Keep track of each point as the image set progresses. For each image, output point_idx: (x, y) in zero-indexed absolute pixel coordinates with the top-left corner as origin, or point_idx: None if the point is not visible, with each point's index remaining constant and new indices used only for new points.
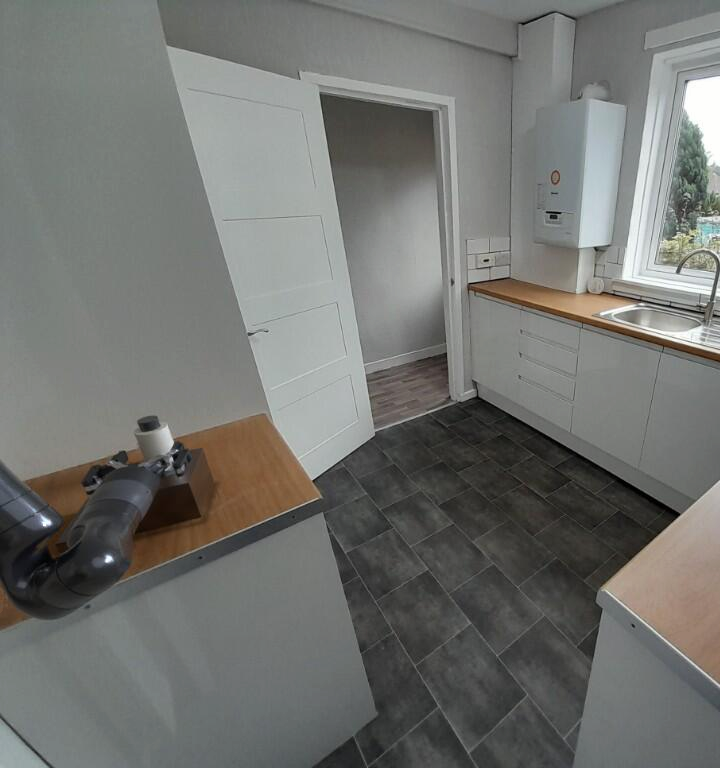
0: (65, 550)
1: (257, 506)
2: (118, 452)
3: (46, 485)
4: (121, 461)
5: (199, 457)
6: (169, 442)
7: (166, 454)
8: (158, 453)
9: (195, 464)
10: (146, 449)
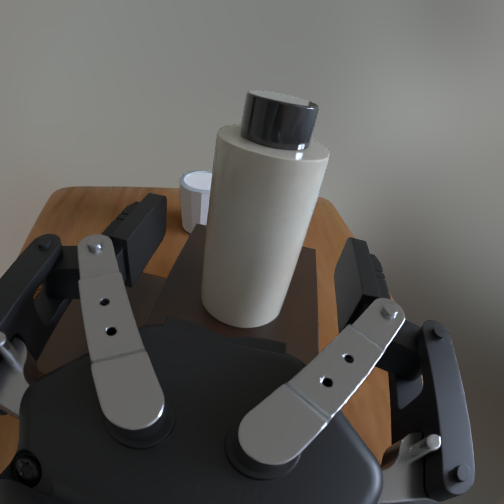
0: None
1: (381, 451)
2: (144, 198)
3: (76, 200)
4: (140, 248)
5: (316, 282)
6: (307, 223)
7: (365, 329)
8: (262, 254)
9: (316, 312)
10: (232, 221)
